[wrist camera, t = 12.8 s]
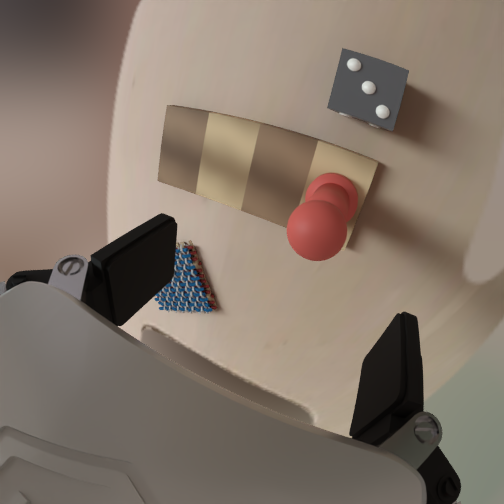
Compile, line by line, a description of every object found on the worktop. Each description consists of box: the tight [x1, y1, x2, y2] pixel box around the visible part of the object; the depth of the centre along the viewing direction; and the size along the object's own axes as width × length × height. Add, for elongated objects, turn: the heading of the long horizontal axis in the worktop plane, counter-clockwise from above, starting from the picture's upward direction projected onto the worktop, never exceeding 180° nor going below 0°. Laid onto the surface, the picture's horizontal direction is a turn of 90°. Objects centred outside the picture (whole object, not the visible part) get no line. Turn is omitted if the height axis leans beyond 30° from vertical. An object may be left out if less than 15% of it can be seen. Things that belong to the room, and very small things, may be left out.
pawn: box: [287, 173, 358, 261], centre depth 20 cm, size 5×5×10 cm
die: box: [327, 48, 409, 131], centre depth 18 cm, size 5×5×5 cm
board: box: [158, 105, 378, 251], centre depth 26 cm, size 9×22×1 cm, turn 77°
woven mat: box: [155, 240, 217, 314], centre depth 38 cm, size 10×11×2 cm
